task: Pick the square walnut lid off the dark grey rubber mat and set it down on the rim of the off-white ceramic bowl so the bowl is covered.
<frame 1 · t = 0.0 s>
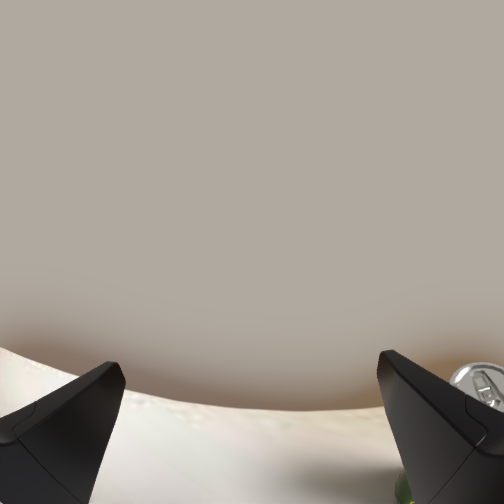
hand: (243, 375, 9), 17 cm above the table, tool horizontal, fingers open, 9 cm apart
beer can: (422, 490, 13), on the table
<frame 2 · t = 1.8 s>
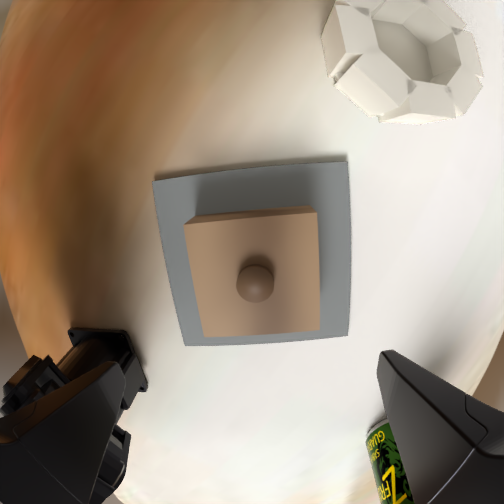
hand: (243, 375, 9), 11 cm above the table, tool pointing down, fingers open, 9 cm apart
mat: (257, 262, 19), on the table
lid: (257, 265, 18), resting on mat
beer can: (387, 428, 24), on the table
bowl: (389, 60, 14), on the table
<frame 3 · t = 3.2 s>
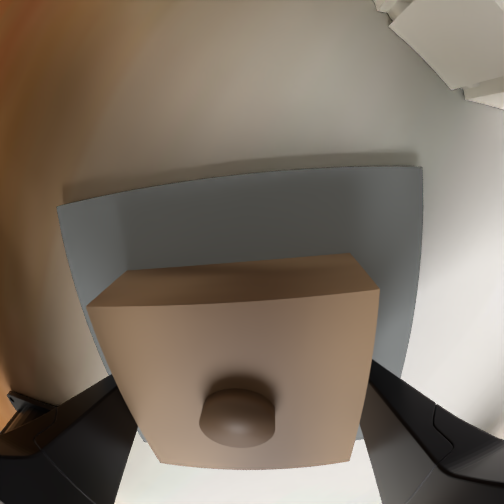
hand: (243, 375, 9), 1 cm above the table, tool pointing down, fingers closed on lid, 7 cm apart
mat: (246, 351, 10), on the table
lid: (245, 357, 10), resting on mat, touching gripper
bowl: (465, 6, 5), on the table
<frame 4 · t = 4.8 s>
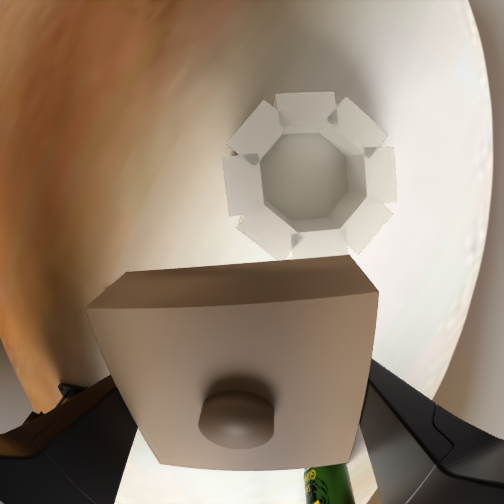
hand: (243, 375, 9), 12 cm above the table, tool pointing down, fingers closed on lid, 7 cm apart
lid: (244, 359, 10), point 11 cm above the table, touching gripper
beer can: (324, 466, 27), on the table
bowl: (302, 175, 18), on the table
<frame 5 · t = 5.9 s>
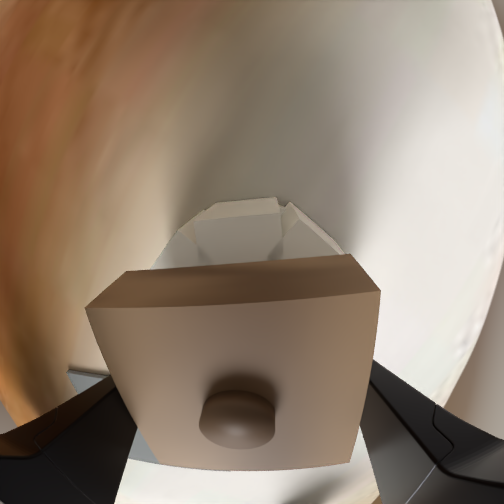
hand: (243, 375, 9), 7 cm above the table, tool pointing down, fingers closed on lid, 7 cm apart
mat: (151, 428, 20), on the table
lid: (245, 358, 10), point 6 cm above the table, touching gripper
bowl: (254, 284, 15), on the table
when the fingers open (7 cm above the table, at t = 6.5 s): lid drops 1 cm, resting on bowl.
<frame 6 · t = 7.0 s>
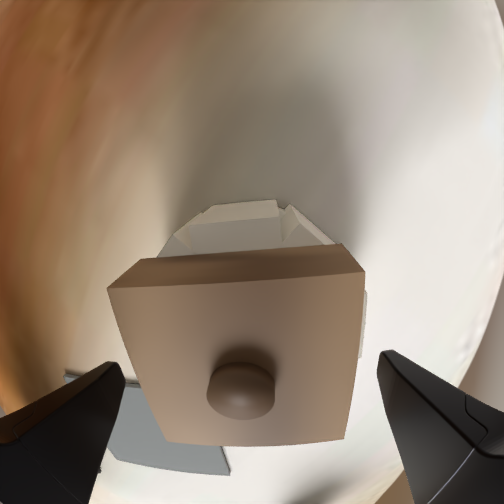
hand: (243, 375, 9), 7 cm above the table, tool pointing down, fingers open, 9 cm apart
mat: (149, 432, 20), on the table
lid: (247, 339, 11), point 4 cm above the table, touching bowl
bowl: (253, 289, 15), on the table
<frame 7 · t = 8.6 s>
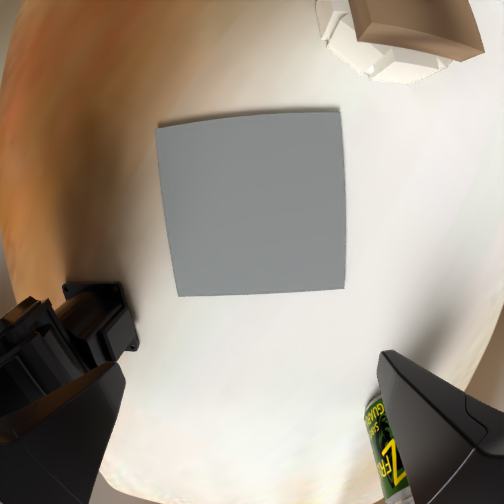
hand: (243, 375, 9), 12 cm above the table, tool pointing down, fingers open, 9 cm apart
mat: (253, 207, 19), on the table
lid: (401, 2, 10), point 4 cm above the table, touching bowl
beer can: (386, 403, 24), on the table
bowl: (379, 28, 14), on the table
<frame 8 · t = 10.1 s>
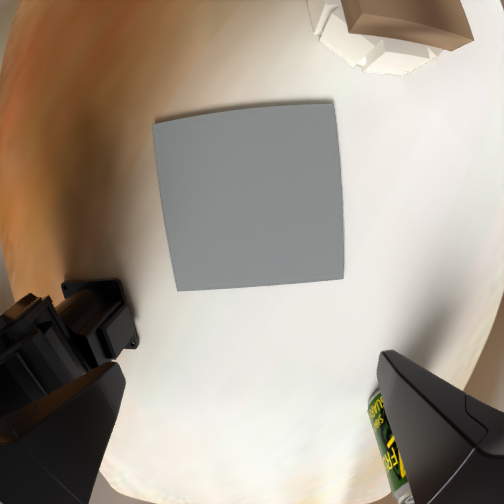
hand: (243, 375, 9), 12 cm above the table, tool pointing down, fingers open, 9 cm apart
mat: (250, 199, 19), on the table
beer can: (389, 396, 24), on the table
bowl: (370, 21, 14), on the table
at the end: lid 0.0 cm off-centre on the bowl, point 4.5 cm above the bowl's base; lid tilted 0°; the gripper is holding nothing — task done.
